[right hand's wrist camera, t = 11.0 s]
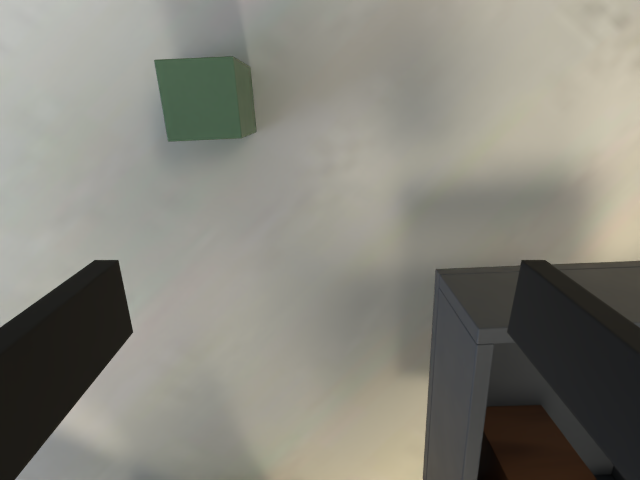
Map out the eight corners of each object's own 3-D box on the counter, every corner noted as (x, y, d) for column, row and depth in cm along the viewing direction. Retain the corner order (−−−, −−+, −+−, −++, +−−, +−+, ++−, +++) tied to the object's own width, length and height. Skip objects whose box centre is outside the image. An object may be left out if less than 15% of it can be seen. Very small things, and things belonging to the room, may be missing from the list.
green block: (256, 132, 28) (242, 138, 23) (197, 134, 28) (167, 141, 23) (250, 66, 27) (233, 56, 21) (187, 69, 27) (153, 59, 21)
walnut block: (531, 457, 26) (590, 555, 20) (464, 459, 26) (505, 558, 20) (541, 404, 24) (609, 494, 19) (470, 406, 24) (516, 497, 19)
